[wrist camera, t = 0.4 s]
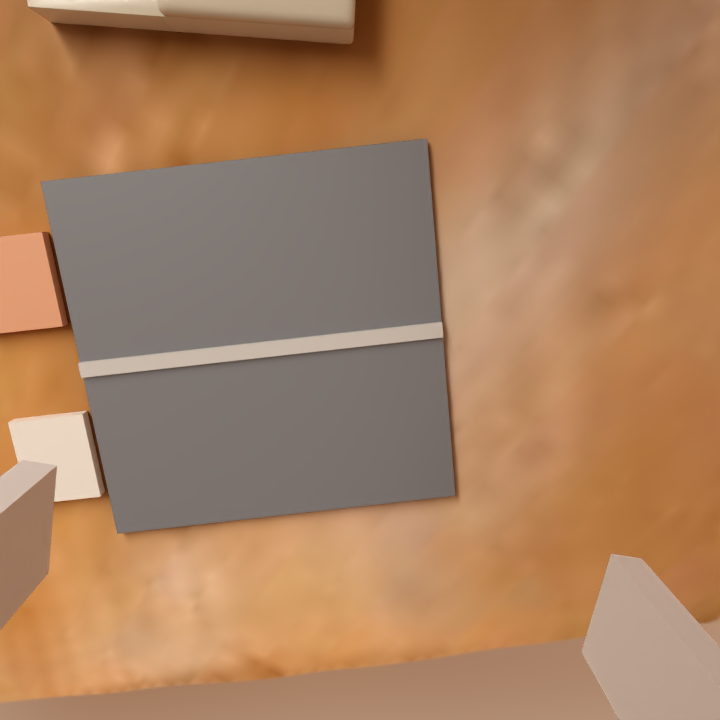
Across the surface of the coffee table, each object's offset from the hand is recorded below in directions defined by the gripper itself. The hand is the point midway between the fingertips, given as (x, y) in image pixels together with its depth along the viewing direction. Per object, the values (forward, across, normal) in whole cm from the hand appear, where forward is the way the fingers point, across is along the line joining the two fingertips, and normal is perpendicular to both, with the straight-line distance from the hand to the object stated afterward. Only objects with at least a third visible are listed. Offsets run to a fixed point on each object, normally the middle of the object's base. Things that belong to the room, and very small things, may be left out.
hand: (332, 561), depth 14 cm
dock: (+27, -8, -2) cm, 28 cm away
